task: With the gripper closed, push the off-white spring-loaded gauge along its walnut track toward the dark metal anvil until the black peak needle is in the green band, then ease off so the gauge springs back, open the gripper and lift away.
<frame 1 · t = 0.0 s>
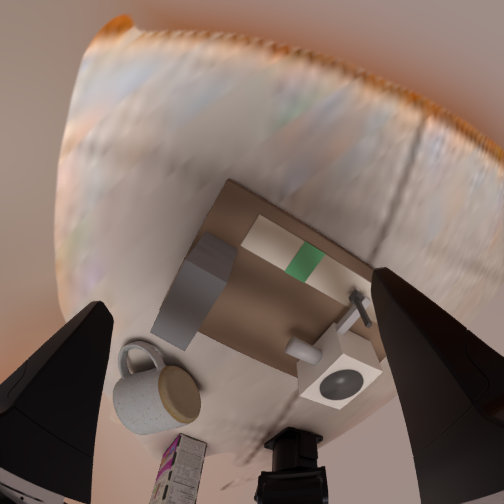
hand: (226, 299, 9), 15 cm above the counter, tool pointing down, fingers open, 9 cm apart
candy bar box: (184, 448, 38), on the counter
peak needle: (361, 308, 21), point 4 cm above the counter, slide at 0.0 cm
ceramic mug: (158, 370, 31), on the counter
test rig: (300, 308, 26), on the counter
gauge: (339, 349, 23), point 4 cm above the counter, slide at 0.0 cm
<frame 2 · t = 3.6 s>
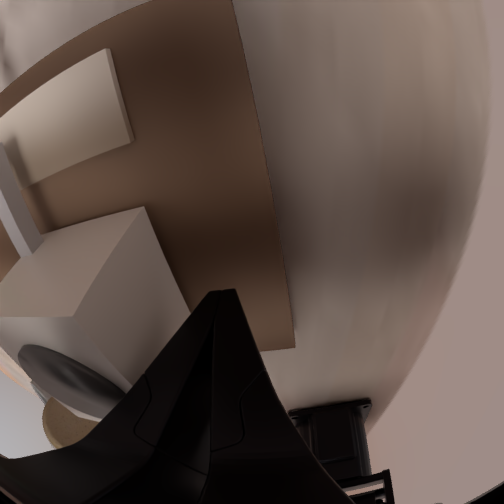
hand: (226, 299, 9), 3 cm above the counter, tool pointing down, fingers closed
ceramic mug: (82, 396, 21), on the counter
test rig: (33, 247, 11), on the counter
gauge: (37, 292, 7), point 4 cm above the counter, slide at 0.3 cm, touching gripper
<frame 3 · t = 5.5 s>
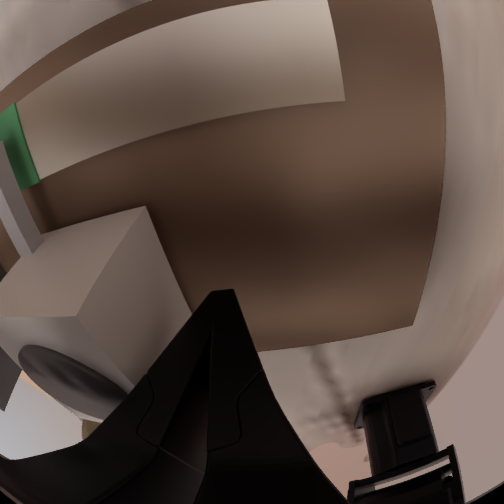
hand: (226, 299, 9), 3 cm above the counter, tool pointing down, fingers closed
test rig: (122, 223, 10), on the counter
gauge: (38, 292, 7), point 4 cm above the counter, slide at 6.1 cm, touching gripper, peak needle
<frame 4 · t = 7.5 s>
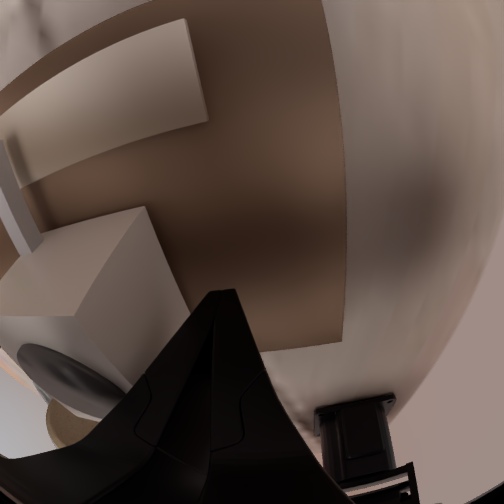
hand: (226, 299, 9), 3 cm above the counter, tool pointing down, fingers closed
ceramic mug: (87, 395, 21), on the counter
test rig: (59, 238, 10), on the counter
gauge: (37, 291, 7), point 4 cm above the counter, slide at 2.5 cm, touching gripper
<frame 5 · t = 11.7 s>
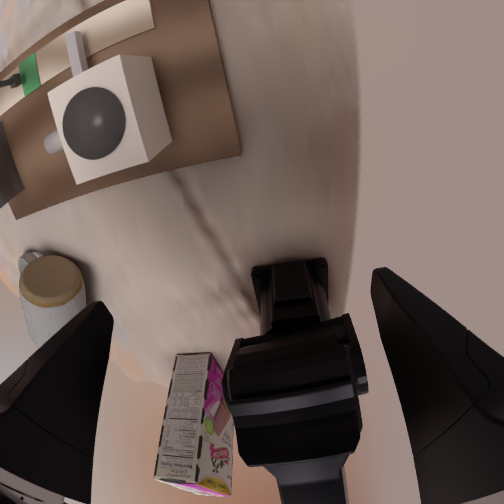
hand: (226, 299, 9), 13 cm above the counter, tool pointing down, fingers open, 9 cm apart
candy bar box: (209, 373, 35), on the counter
ceramic mug: (60, 277, 26), on the counter
test rig: (75, 106, 16), on the counter
gauge: (83, 95, 13), point 4 cm above the counter, slide at 0.6 cm
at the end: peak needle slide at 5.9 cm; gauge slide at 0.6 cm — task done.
